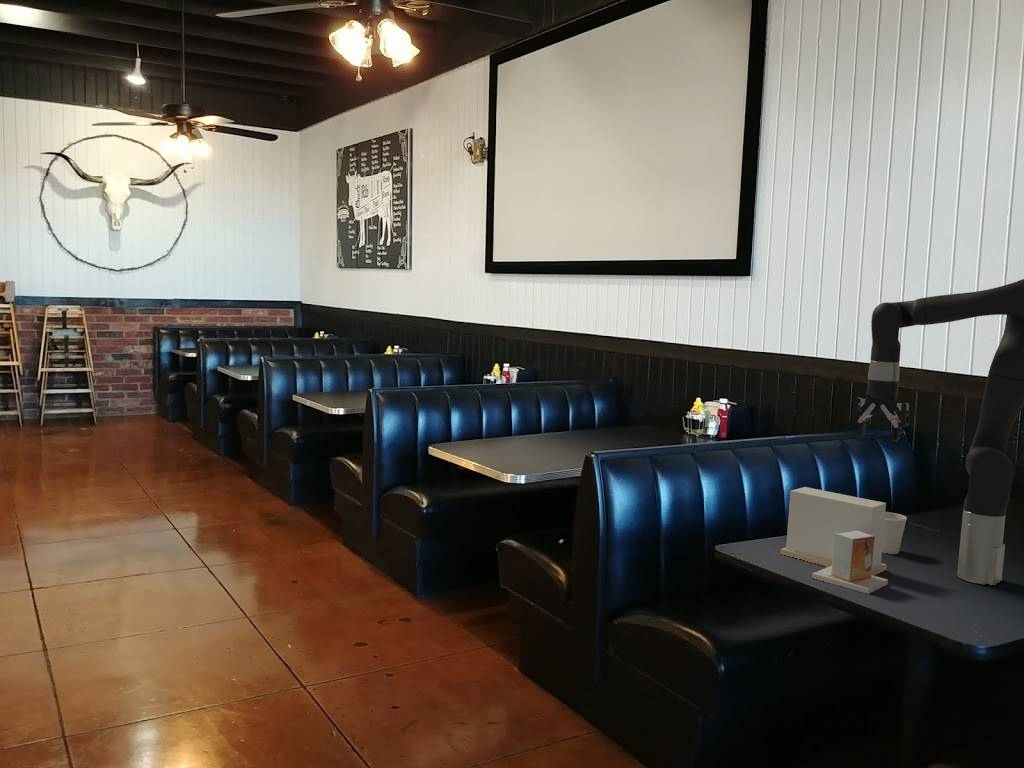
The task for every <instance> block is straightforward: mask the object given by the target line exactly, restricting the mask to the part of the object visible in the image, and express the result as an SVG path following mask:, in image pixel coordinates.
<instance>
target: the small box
mask: <svg viewBox="0 0 1024 768" xmlns="http://www.w3.org/2000/svg"><path fill="white" fill-rule="evenodd" d="M874 538H875V536H873V535H869V534H866V533H863V532H860V531H852V532H845V533H835V536H834V548H833V560H832V572H831V574H832V575H834V576H837V577H839V578H842V579H845V580H848V581H852V580H857V579H865V578H871V571H872V560H873V549H874Z"/></svg>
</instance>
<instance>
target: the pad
mask: <svg viewBox="0 0 1024 768" xmlns="http://www.w3.org/2000/svg"><path fill="white" fill-rule="evenodd" d="M831 572H832V565H831V566H829V567H825V568H822V569H820V570H818V571H815V572H812V573H811V579H813V578H814V580H816V579H817V581H820V582H823V581H824V583H828V584H831V585H835V586H838V587H841V586H842V587H841V588H845V589H850V590H852V591H855V592H860V593H863V594H866V593H867V595H869V594H871V593H872V592H873V593H874V592H875V591H877V590H879V589H882V587H885V586H887V585H888V584H889V583H888V582H889V579H887V578H885V577H880V576H877V575H874V576H873V575H871V578H865V579H857V580H852V581H848V580H845V579H842V578H839V577H837V576H834V575H832V574H831Z"/></svg>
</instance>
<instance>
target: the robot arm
mask: <svg viewBox="0 0 1024 768" xmlns="http://www.w3.org/2000/svg"><path fill="white" fill-rule="evenodd" d="M995 315H996V316H997V315H998V316H1000V315H1001V316H1006V318H1005V324H1004V330H1003V334H1002V337H1001V340H1000V342H999V344H998V346H997V349H996V351H995V353H994V355H993V359H992V361H991V364H990V367H989V370H988V373H987V377H986V380H985V381H986V382H985V385H984V391H983V396H982V401H981V407H980V414H979V420H978V424H977V427H976V431H975V434H974V437H973V440H972V442H971V445H970V448H969V450H968V453H967V455H966V457H965V458H966V460H965V468H966V472H967V474H968V475H969V479H968V487H967V488H968V489H967V494H966V496H965V498H964V500H963V501H964V502H963V510H962V521H961V531H960V542H959V554H958V562H957V563H958V564H957V577H958V578H959V579H961V580H964V581H965V582H966V581H967V582H970V583H972V584H973V583H974V584H979V585H986V584H989V585H988V586H992V585H994V586H996V585H998V584H999V583H1000V581H1001V582H1002V580H1003V571H1004V570H1003V568H1004V562H1005V561H1004V560H1005V551H1006V544H1005V543H1003V542H1004V534H1005V533H1004V532H1005V522H1006V514H1007V508H1008V506H1009V503H1010V498H1011V491H1012V483H1013V472H1014V471H1013V469H1014V468H1013V464H1012V461H1011V460H1010V458H1009V457H1008V456H1007V449H1008V443H1009V437H1010V433H1011V430H1012V428H1013V425H1014V423H1015V422H1016V421H1017V419H1018V417H1019V415H1020V412H1021V411H1022V409H1023V408H1024V278H1022V279H1019V280H1017V281H1014V282H1010V283H1008V284H1007V283H1006V284H1004V285H1000V286H997V287H993V288H989V289H982V290H977V291H970V292H963V293H949V294H942V295H935V296H934V295H933V296H927V297H921V298H917V299H914V300H907V301H905V300H904V301H895V302H881V303H880V304H878V305H877V306H876V307H875V308H874V309H873V311H872V313H871V321H870V322H871V324H870V326H871V341H872V345H871V348H870V349H871V351H870V360H869V361H870V362H869V367H868V373H867V386H866V398H862V397H855V398H854V399H853V404H852V411H851V420H853V421H856V422H857V423H858V427H857V434H858V435H859V437H860V438H865V437H866V435H867V426H868V425H867V423H866V422H867V421H868V420H869V419H870V418H871V417H872V416H873V417H879V418H887V419H888V421H890V423H891V424H892V426H893V427H892V433H891V441H892V443H893V442H894V443H896V442H898V441H899V440H900V439H901V432H902V430H901V429H902V428H903V427H907V426H909V425H910V407H911V405H910V403H909V402H904V403H903V402H898V394H899V384H900V383H899V382H900V359H901V358H900V357H901V343H900V339H899V337H900V329H902V328H909V327H913V326H928V325H936V324H944V323H951V322H957V321H963V320H966V319H972V318H979V317H985V316H995ZM864 405H865V407H866V410H865V411H864V412H863V413H862V415H861V412H862V407H863V406H864ZM897 409H899V410H898V411H900V419H899V416H898V414H897V413H896V410H897ZM997 583H998V584H997Z"/></svg>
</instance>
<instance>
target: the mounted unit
mask: <svg viewBox="0 0 1024 768" xmlns="http://www.w3.org/2000/svg"><path fill="white" fill-rule="evenodd" d="M789 492H790V494H789V505H788V506H789V507H788V517H787V521H788V522H787V534H786V546H785V547H783V548H781V549H780V554H782V555H781V556H784V555H786V556H785V557H788V556H789V557H788V558H792V557H794V558H793V559H795V558H797V559H796V560H799V559H802V560H801V561H803V560H805V561H804V562H807V561H808V563H811V562H812V563H811V564H814V563H816V564H815V565H818V564H819V566H822V565H823V566H822V567H825V568H827V567H829V566H831V565H832V560H833V548H834V536H835V533H845V532H852V531H860V532H863V533H866V534H869V535H873V536H875V538H874V549H873V560H872V571H871V575H873V576H877V575H878V573H879V574H881V573H883V572H885V571H887V564H886V563H882V556H883V555H882V554H883V553H882V544H883V532H884V520H885V512H886V509H887V508H886V507H887V503H886V502H884V501H883V502H882V501H877V500H871V499H868V498H863V497H862V498H861V497H856V496H852V495H847V494H842V493H836V492H832V491H827V490H823V489H816V488H812V487H808V486H803V487H799V488H796V489H793V490H792V489H791V490H790V491H789ZM780 554H779V555H780ZM884 570H885V571H884ZM880 572H881V573H880ZM876 574H877V575H876Z"/></svg>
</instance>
